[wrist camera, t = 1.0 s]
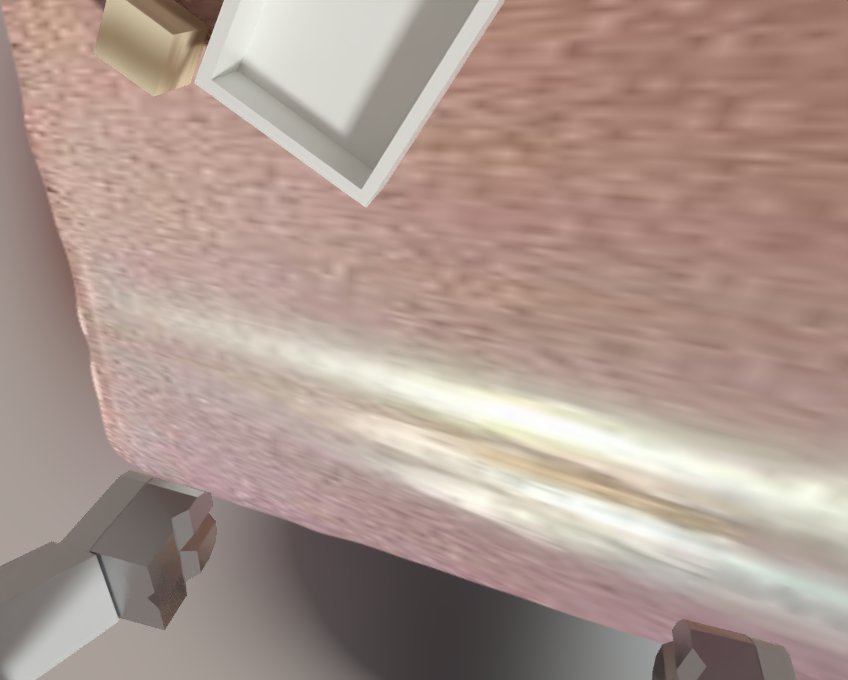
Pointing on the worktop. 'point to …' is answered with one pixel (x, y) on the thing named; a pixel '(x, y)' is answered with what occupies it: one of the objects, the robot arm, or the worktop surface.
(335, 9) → the tote
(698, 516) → the worktop surface
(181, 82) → the maple cube
